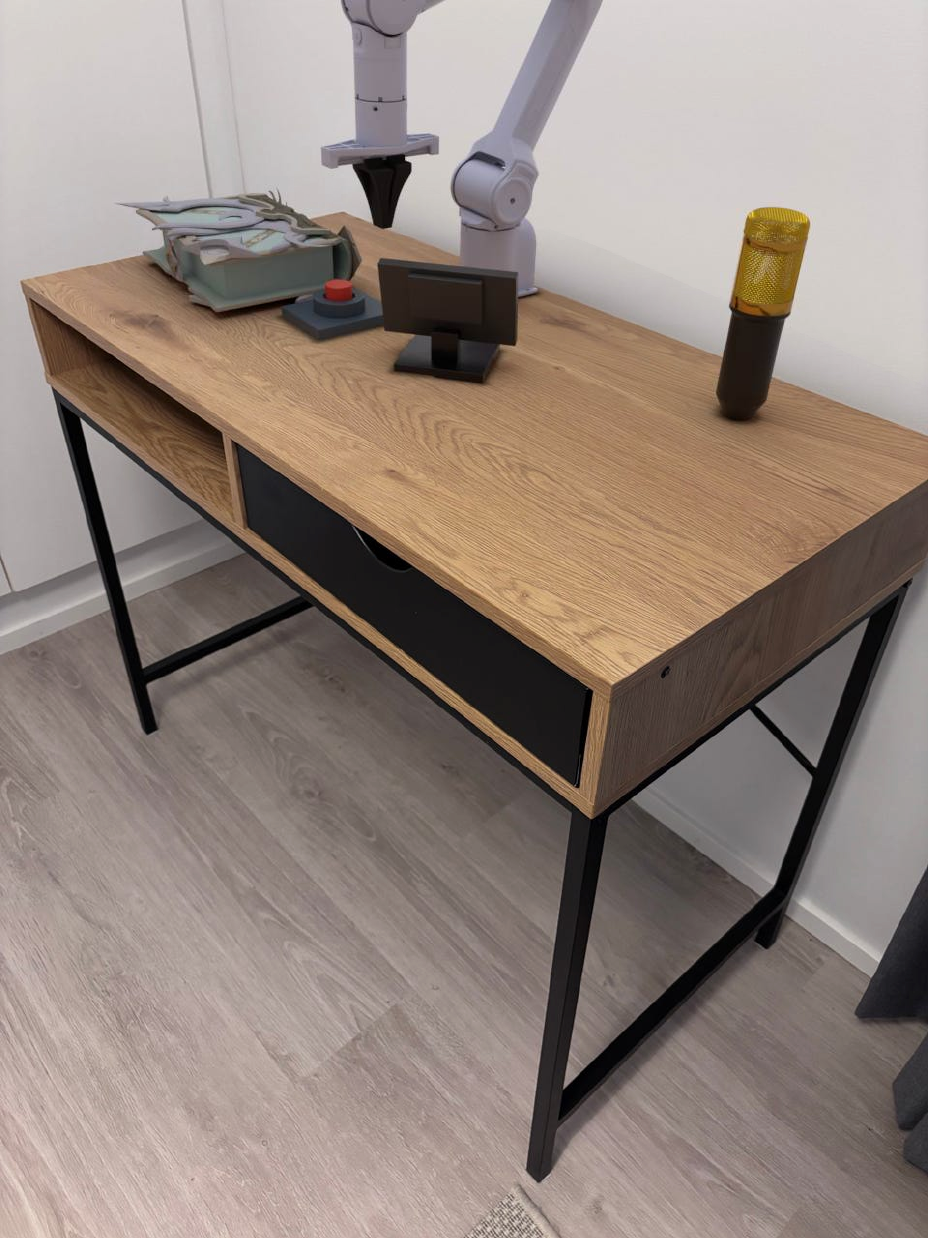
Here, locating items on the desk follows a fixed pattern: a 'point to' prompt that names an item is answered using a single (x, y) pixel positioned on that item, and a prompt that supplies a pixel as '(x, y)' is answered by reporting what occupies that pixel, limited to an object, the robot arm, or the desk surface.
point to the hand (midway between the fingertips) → (382, 226)
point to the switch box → (335, 315)
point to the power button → (338, 290)
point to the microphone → (760, 306)
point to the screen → (449, 300)
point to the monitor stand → (447, 356)
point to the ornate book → (247, 249)
